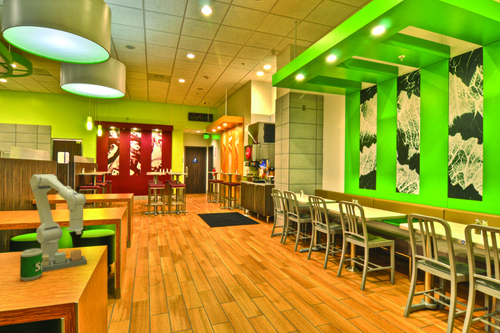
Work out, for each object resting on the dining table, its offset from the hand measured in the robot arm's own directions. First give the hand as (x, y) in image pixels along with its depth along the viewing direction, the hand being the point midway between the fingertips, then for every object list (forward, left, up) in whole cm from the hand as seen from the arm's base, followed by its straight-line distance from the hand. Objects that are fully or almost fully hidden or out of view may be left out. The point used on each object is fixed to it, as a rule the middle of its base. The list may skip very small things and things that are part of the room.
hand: (76, 246), depth 137 cm
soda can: (+9, -18, -9) cm, 22 cm away
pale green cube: (0, -6, -6) cm, 9 cm away
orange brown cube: (0, 0, -6) cm, 6 cm away
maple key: (0, -13, -6) cm, 14 cm away
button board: (0, -7, -8) cm, 11 cm away
